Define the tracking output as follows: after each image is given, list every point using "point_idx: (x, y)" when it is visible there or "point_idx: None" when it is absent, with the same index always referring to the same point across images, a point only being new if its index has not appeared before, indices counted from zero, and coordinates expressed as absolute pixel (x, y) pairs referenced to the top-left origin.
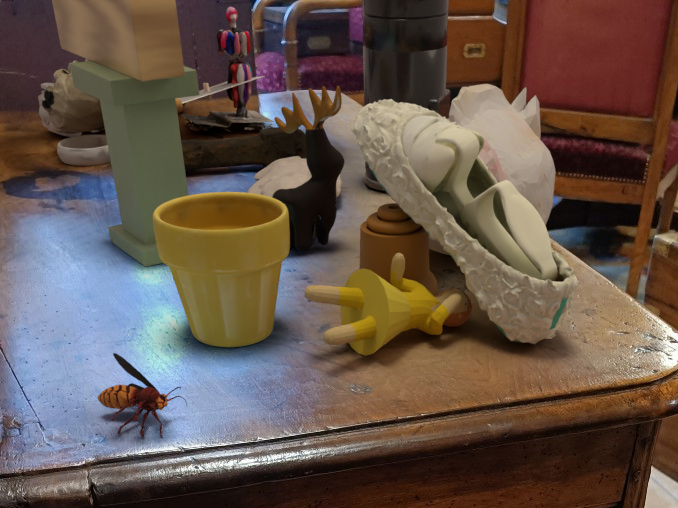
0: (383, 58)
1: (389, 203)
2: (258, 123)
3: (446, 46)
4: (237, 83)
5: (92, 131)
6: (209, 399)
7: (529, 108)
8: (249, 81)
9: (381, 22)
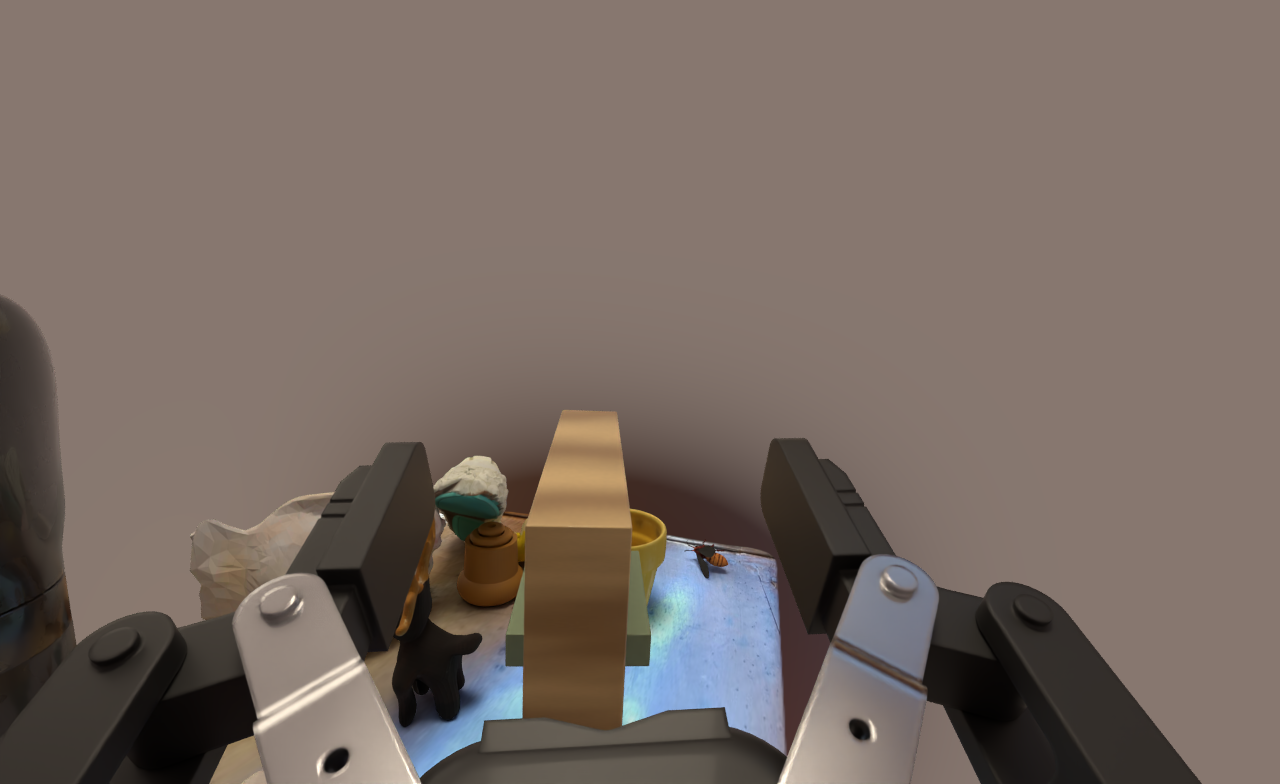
0: (69, 640)
1: (487, 529)
2: None
3: None
4: None
5: None
6: (667, 565)
7: (232, 527)
8: None
9: (57, 590)
